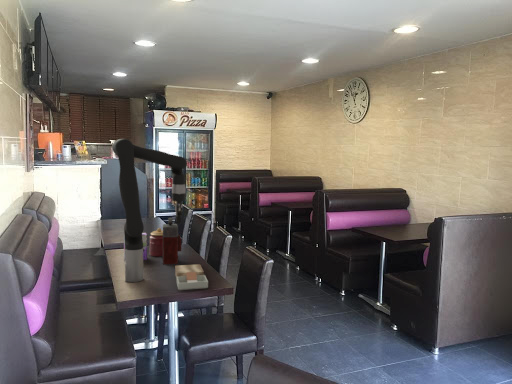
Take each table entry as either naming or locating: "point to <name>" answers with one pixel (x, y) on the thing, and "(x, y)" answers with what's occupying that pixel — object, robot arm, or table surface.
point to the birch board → (188, 270)
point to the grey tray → (192, 283)
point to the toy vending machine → (171, 243)
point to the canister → (156, 243)
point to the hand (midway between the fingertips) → (178, 222)
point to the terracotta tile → (191, 276)
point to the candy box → (144, 238)
